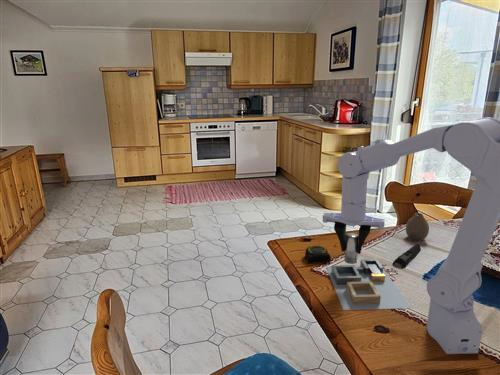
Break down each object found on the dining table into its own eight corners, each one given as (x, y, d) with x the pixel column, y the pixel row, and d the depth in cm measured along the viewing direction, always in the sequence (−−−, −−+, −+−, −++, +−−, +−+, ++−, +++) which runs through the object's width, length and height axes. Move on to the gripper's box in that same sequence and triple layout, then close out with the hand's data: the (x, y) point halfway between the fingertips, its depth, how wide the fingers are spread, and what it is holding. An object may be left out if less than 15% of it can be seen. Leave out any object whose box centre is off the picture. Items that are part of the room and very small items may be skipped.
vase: (400, 236, 113) (402, 212, 110) (416, 232, 115) (419, 209, 112) (415, 244, 106) (418, 219, 104) (432, 240, 108) (435, 216, 106)
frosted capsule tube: (359, 263, 83) (360, 238, 81) (346, 264, 83) (348, 238, 81) (354, 257, 86) (355, 232, 84) (342, 258, 86) (343, 233, 84)
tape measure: (307, 267, 96) (307, 256, 95) (303, 255, 102) (303, 245, 101) (330, 266, 96) (331, 255, 95) (325, 254, 103) (325, 244, 101)
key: (384, 281, 86) (385, 275, 85) (372, 281, 86) (372, 276, 85) (376, 269, 91) (377, 264, 91) (365, 269, 91) (365, 264, 91)
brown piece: (380, 303, 77) (380, 296, 77) (353, 304, 77) (354, 297, 77) (371, 288, 83) (371, 281, 82) (346, 288, 83) (346, 281, 83)
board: (410, 311, 75) (411, 308, 75) (343, 313, 76) (343, 309, 76) (380, 268, 94) (380, 265, 93) (325, 269, 94) (326, 266, 94)
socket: (388, 283, 85) (389, 276, 84) (336, 285, 85) (337, 278, 84) (376, 265, 93) (377, 259, 93) (329, 266, 94) (329, 260, 93)
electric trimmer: (423, 254, 101) (425, 245, 100) (403, 273, 91) (404, 263, 90) (411, 250, 104) (412, 241, 103) (390, 268, 94) (391, 258, 93)
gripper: (320, 202, 79) (319, 253, 83) (385, 208, 73) (381, 263, 77) (326, 194, 85) (325, 241, 89) (386, 199, 79) (382, 249, 83)
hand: (351, 250), depth 83 cm, fingers closed on frosted capsule tube, 3 cm apart
